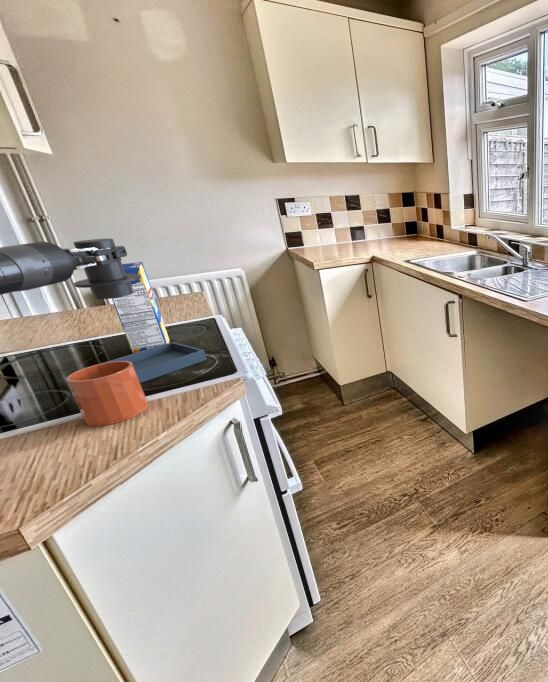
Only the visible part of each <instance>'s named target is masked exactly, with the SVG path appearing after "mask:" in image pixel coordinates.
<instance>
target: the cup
mask: <svg viewBox="0 0 548 682" xmlns="http://www.w3.org/2000/svg"><path fill="white" fill-rule="evenodd" d="M106 362H107V361H106ZM101 363H102V364H101ZM101 363H98V364H93V365H91V366H87V367H84V368H81V369H78V370H79V371H77V370H76V371H74V372H72V373H71V374H69V375H68V376H66V377H65V378H66V379H65V382H66V383H67V386H68V388H69V390H70V392H71V395H72V397H73V399H74V401H75V403H76V405H77V408H78V410H79V412H80V414H81V417H82V418H83V420H84V422H85V423H86V425H88V426H90V427H104V426H110V425H114V424H118V423H122V422H124V421H127V420H131V419H132V418H134V417H137V416H138V415H141V414H142V413H144V412H146V410H147V409H148V408H149V402H148V399H147V396H146V393H145V391H144V388H143V386H142V383H140V381H139V378H138V375H137V373H136V370H135V368H134V365H133V363H132V362H130V361H114V362H107V363H104V362H101Z"/></svg>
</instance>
